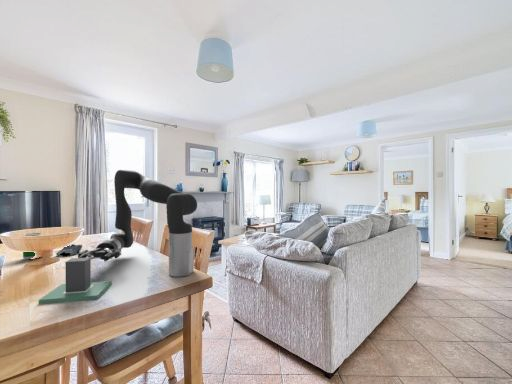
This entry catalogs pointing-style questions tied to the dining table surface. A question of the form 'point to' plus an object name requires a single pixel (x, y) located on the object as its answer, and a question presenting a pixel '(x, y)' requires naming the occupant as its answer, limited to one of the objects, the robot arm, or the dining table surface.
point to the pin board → (76, 293)
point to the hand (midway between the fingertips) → (92, 259)
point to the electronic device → (70, 250)
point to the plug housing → (78, 274)
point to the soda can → (30, 254)
